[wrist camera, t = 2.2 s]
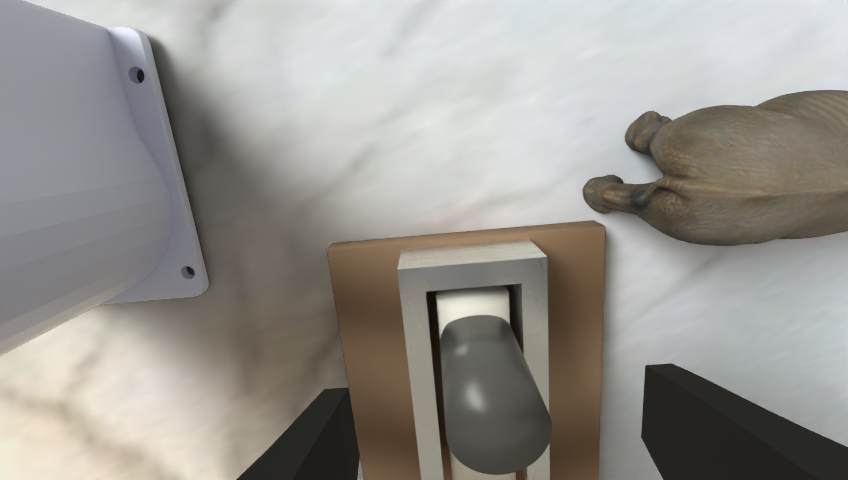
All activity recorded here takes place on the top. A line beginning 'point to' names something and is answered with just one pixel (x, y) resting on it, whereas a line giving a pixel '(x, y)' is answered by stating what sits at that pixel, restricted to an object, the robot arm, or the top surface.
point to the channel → (469, 269)
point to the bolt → (487, 388)
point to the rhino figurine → (740, 171)
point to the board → (387, 356)
